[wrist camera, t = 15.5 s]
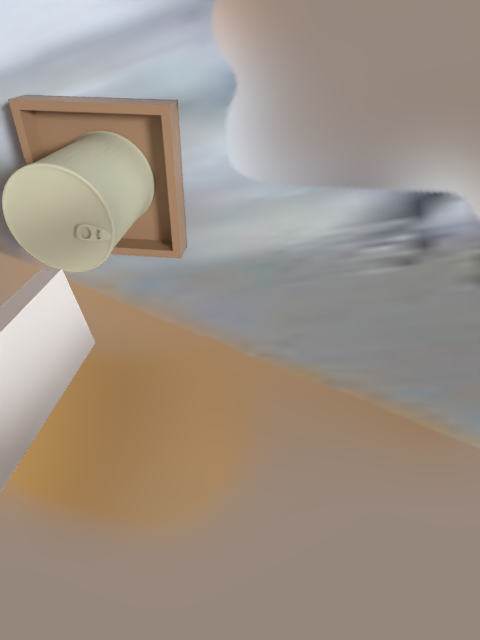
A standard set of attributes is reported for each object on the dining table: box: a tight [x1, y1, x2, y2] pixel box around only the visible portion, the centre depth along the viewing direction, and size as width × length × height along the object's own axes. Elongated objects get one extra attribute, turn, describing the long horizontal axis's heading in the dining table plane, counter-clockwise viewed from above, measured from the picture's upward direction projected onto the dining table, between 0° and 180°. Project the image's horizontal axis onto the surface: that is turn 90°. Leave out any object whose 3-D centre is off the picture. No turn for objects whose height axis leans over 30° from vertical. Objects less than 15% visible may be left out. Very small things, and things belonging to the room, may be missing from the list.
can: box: [2, 131, 154, 272], centre depth 37 cm, size 9×9×12 cm
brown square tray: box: [8, 95, 187, 258], centre depth 41 cm, size 15×15×3 cm
